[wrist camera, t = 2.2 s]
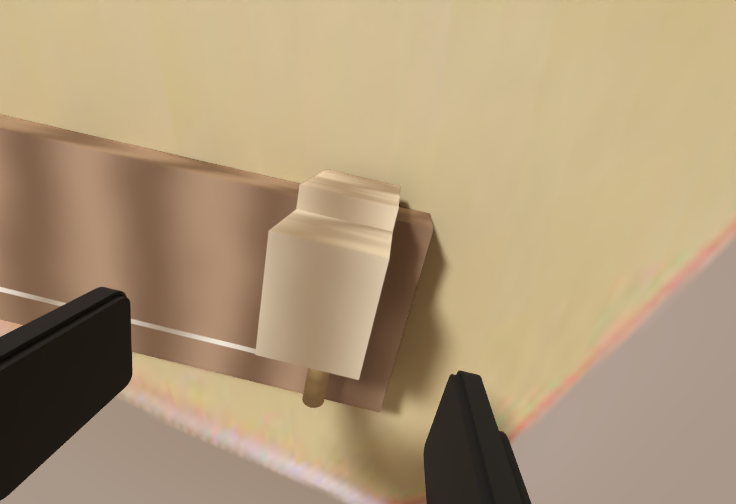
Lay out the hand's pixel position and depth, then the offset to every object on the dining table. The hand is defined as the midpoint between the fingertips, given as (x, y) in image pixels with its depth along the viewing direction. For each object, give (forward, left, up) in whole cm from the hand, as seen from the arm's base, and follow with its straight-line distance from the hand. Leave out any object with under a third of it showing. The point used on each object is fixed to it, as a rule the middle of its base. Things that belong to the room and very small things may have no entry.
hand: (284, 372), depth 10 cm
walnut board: (+10, +3, -12) cm, 15 cm away
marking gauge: (0, +2, -10) cm, 11 cm away
